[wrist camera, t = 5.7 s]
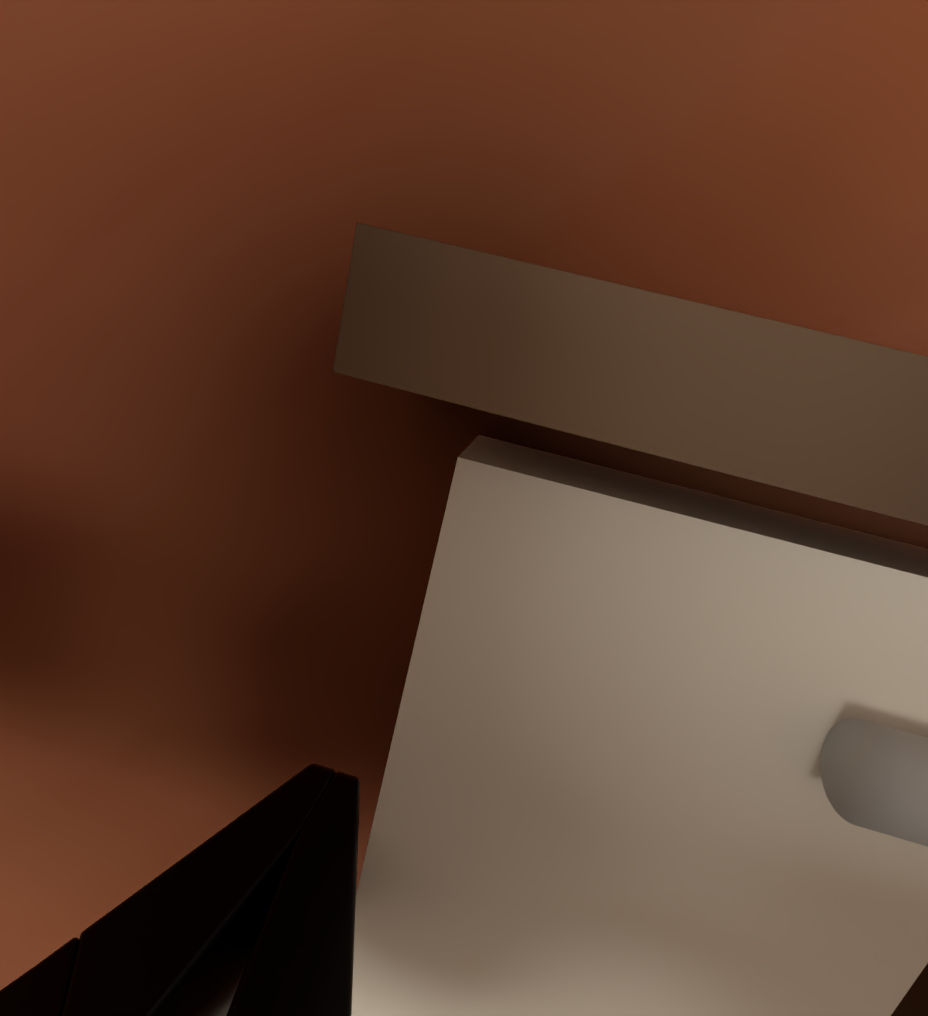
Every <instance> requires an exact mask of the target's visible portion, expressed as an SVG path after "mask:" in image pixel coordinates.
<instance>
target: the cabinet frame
mask: <svg viewBox="0 0 928 1016" xmlns="http://www.w3.org/2000/svg"><path fill="white" fill-rule="evenodd" d="M333 372H335V373H339V374H343V375H347V376H350V377H354V378H358V379H362V380H366V381H370V382H374V383H377V384H381V385H385V386H389V387H393V388H397V389H401V390H405V391H408V392H412V393H416V394H420V395H424V396H428V397H432V398H435V399H439V400H443V401H447V402H451V403H455V404H459V405H463V406H466V407H470V408H474V409H478V410H482V411H486V412H490V413H493V414H497V415H501V416H505V417H509V418H513V419H517V420H521V421H524V422H528V423H532V424H536V425H540V426H544V427H548V428H551V429H555V430H559V431H563V432H567V433H571V434H575V435H579V436H582V437H586V438H590V439H594V440H598V441H602V442H606V443H609V444H613V445H617V446H621V447H625V448H629V449H633V450H637V451H640V452H644V453H648V454H652V455H656V456H660V457H664V458H667V459H671V460H675V461H679V462H683V463H687V464H691V465H695V466H698V467H702V468H706V469H710V470H714V471H718V472H722V473H725V474H729V475H733V476H737V477H741V478H745V479H749V480H753V481H756V482H760V483H764V484H768V485H772V486H776V487H780V488H783V489H787V490H791V491H795V492H799V493H803V494H807V495H811V496H814V497H818V498H822V499H826V500H830V501H834V502H838V503H841V504H845V505H849V506H853V507H857V508H861V509H865V510H869V511H872V512H876V513H880V514H884V515H888V516H892V517H896V518H899V519H903V520H907V521H911V522H915V523H919V524H923V525H927V526H928V357H927V356H923V355H918V354H914V353H910V352H906V351H901V350H897V349H893V348H889V347H884V346H880V345H876V344H872V343H867V342H863V341H859V340H855V339H850V338H846V337H842V336H838V335H833V334H829V333H825V332H821V331H816V330H812V329H808V328H804V327H799V326H795V325H791V324H787V323H782V322H778V321H774V320H770V319H765V318H761V317H757V316H752V315H748V314H744V313H740V312H735V311H731V310H727V309H723V308H718V307H714V306H710V305H706V304H701V303H697V302H693V301H689V300H684V299H680V298H676V297H672V296H667V295H663V294H659V293H655V292H650V291H646V290H642V289H638V288H633V287H629V286H625V285H621V284H616V283H612V282H608V281H604V280H599V279H595V278H591V277H586V276H582V275H578V274H574V273H569V272H565V271H561V270H557V269H552V268H548V267H544V266H540V265H535V264H531V263H527V262H523V261H518V260H514V259H510V258H506V257H501V256H497V255H493V254H489V253H484V252H480V251H476V250H472V249H467V248H463V247H459V246H455V245H450V244H446V243H442V242H437V241H433V240H429V239H425V238H420V237H416V236H412V235H408V234H403V233H399V232H395V231H391V230H386V229H382V228H378V227H374V226H369V225H365V224H361V223H357V224H356V231H355V237H354V243H353V249H352V256H351V262H350V268H349V274H348V280H347V287H346V293H345V299H344V305H343V312H342V318H341V324H340V330H339V336H338V343H337V349H336V355H335V361H334V368H333ZM891 1016H928V963H927V965H926V966H925V967H924V969H923V970H922V972H921V973H920V975H919V976H918V977H917V979H916V980H915V982H914V983H913V985H912V986H911V987H910V989H909V990H908V992H907V993H906V995H905V996H904V997H903V999H902V1000H901V1002H900V1003H899V1005H898V1006H897V1008H896V1009H895V1010H894V1012H893V1013H892V1015H891Z"/></svg>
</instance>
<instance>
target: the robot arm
mask: <svg viewBox="0 0 928 1016" xmlns="http://www.w3.org/2000/svg"><path fill="white" fill-rule="evenodd" d="M359 800H360V780H359V778H358V777H355V776H352V775H349V774H346V773H343V772H335V771H334V770H333V769H330V768H327V767H324V766H321V765H318V764H311V765H309V766H307V767H306V768H305V769H303V770H302V771H301V772H299V773H298V774H297V775H295V776H294V777H293V778H291V779H290V780H288V781H287V782H286V783H284V784H283V785H282V786H280V787H279V788H278V789H276V790H275V791H273V792H272V793H271V794H269V795H268V796H267V797H265V798H264V799H263V800H261V801H260V802H258V803H257V804H256V805H254V806H253V807H252V808H250V809H249V810H248V811H246V812H245V813H243V814H242V815H241V816H239V817H238V818H237V819H235V820H234V821H233V822H231V823H230V824H229V825H227V826H226V827H224V828H223V829H222V830H220V831H219V832H218V833H216V834H215V835H214V836H212V837H211V838H209V839H208V840H207V841H205V842H204V843H203V844H201V845H200V846H199V847H197V848H196V849H194V850H193V851H192V852H190V853H189V854H188V855H186V856H185V857H184V858H182V859H181V860H179V861H178V862H177V863H175V864H174V865H173V866H171V867H170V868H169V869H167V870H166V871H165V872H163V873H162V874H160V875H159V876H158V877H156V878H155V879H154V880H152V881H151V882H150V883H148V884H147V885H145V886H144V887H143V888H141V889H140V890H139V891H137V892H136V893H135V894H133V895H132V896H130V897H129V898H128V899H126V900H125V901H124V902H122V903H121V904H120V905H118V906H117V907H115V908H114V909H113V910H111V911H110V912H109V913H107V914H106V915H105V916H103V917H102V918H100V919H99V920H98V921H96V922H95V923H94V924H92V925H91V926H90V927H88V928H87V929H85V930H84V931H83V932H82V933H81V935H80V939H78V938H73V939H71V940H70V941H69V942H67V943H66V944H65V945H63V946H62V947H60V948H59V949H58V950H56V951H55V952H54V953H52V954H51V955H50V956H48V957H47V958H46V959H44V960H43V961H42V962H40V963H39V964H37V965H36V966H35V967H33V968H32V969H30V970H29V971H27V972H26V973H25V974H23V975H22V976H20V977H19V978H18V979H16V980H15V981H13V982H12V983H10V984H9V985H8V986H6V987H5V988H3V989H2V990H1V991H0V1016H351V1014H352V987H353V960H354V934H355V907H356V880H357V854H358V827H359Z"/></svg>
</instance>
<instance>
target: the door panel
mask: <svg viewBox="0 0 928 1016" xmlns="http://www.w3.org/2000/svg"><path fill="white" fill-rule="evenodd" d="M927 963H928V549H927V548H923V547H919V546H915V545H911V544H907V543H904V542H900V541H896V540H892V539H888V538H884V537H880V536H876V535H872V534H868V533H864V532H860V531H856V530H852V529H848V528H844V527H840V526H836V525H833V524H829V523H825V522H821V521H817V520H813V519H809V518H805V517H801V516H797V515H793V514H789V513H785V512H781V511H777V510H773V509H769V508H765V507H761V506H758V505H754V504H750V503H746V502H742V501H738V500H734V499H730V498H726V497H722V496H718V495H714V494H710V493H706V492H702V491H698V490H694V489H690V488H687V487H683V486H679V485H675V484H671V483H667V482H663V481H659V480H655V479H651V478H647V477H643V476H639V475H635V474H631V473H627V472H623V471H619V470H615V469H612V468H608V467H604V466H600V465H596V464H592V463H588V462H584V461H580V460H576V459H572V458H568V457H564V456H560V455H556V454H552V453H548V452H544V451H541V450H537V449H533V448H529V447H525V446H521V445H517V444H513V443H509V442H505V441H501V440H497V439H493V438H489V437H485V436H481V435H478V436H477V437H476V439H475V440H474V441H473V442H472V443H471V444H470V445H469V446H468V447H467V448H466V449H465V450H464V451H463V452H462V453H461V454H460V455H459V456H458V458H457V462H456V467H455V471H454V475H453V479H452V484H451V488H450V492H449V497H448V501H447V505H446V510H445V514H444V518H443V523H442V527H441V531H440V535H439V540H438V544H437V548H436V553H435V557H434V561H433V566H432V570H431V574H430V579H429V583H428V587H427V592H426V596H425V600H424V604H423V609H422V613H421V617H420V622H419V626H418V630H417V635H416V639H415V643H414V648H413V652H412V656H411V660H410V665H409V669H408V673H407V678H406V682H405V686H404V691H403V695H402V699H401V704H400V708H399V712H398V717H397V721H396V725H395V729H394V734H393V738H392V742H391V747H390V751H389V755H388V760H387V764H386V768H385V773H384V777H383V781H382V785H381V790H380V794H379V798H378V803H377V807H376V811H375V816H374V820H373V824H372V829H371V833H370V837H369V841H368V846H367V850H366V854H365V859H364V863H363V867H362V872H361V876H360V880H359V885H358V889H357V893H356V907H355V934H354V960H353V987H352V1014H351V1016H891V1015H892V1013H893V1012H894V1010H895V1009H896V1008H897V1006H898V1005H899V1003H900V1002H901V1000H902V999H903V997H904V996H905V995H906V993H907V992H908V990H909V989H910V987H911V986H912V985H913V983H914V982H915V980H916V979H917V977H918V976H919V975H920V973H921V972H922V970H923V969H924V967H925V966H926V965H927Z"/></svg>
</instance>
